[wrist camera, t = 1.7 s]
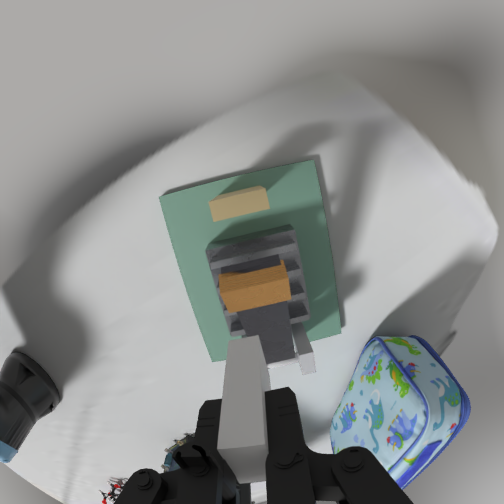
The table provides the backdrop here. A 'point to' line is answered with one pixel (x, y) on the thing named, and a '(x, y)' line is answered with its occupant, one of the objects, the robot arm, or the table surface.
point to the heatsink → (255, 248)
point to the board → (249, 221)
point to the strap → (261, 303)
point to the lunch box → (400, 406)
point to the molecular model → (111, 492)
